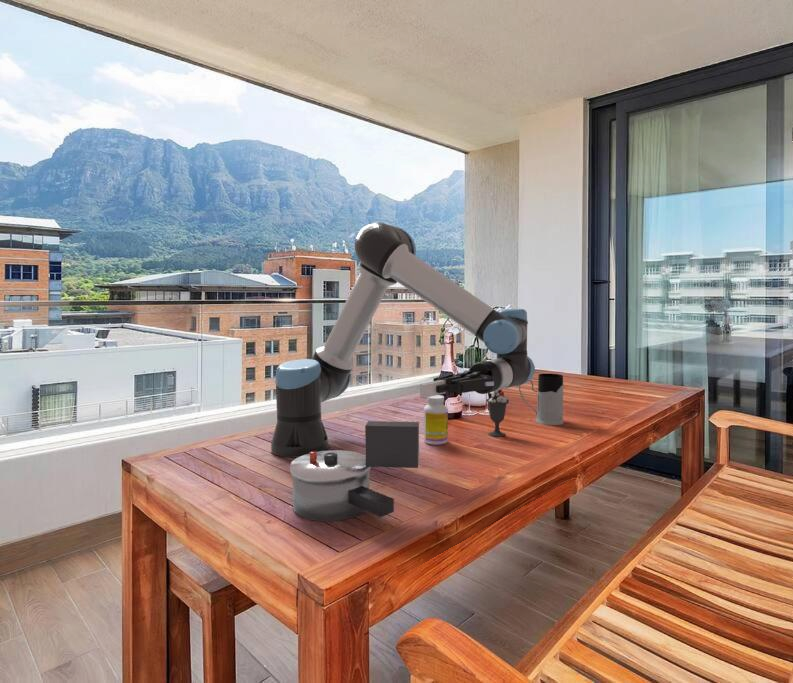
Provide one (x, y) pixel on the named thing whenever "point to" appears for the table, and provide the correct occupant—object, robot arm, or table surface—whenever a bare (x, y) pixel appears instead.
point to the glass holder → (549, 399)
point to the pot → (338, 500)
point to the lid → (383, 449)
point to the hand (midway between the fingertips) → (422, 390)
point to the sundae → (497, 410)
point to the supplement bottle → (435, 421)
